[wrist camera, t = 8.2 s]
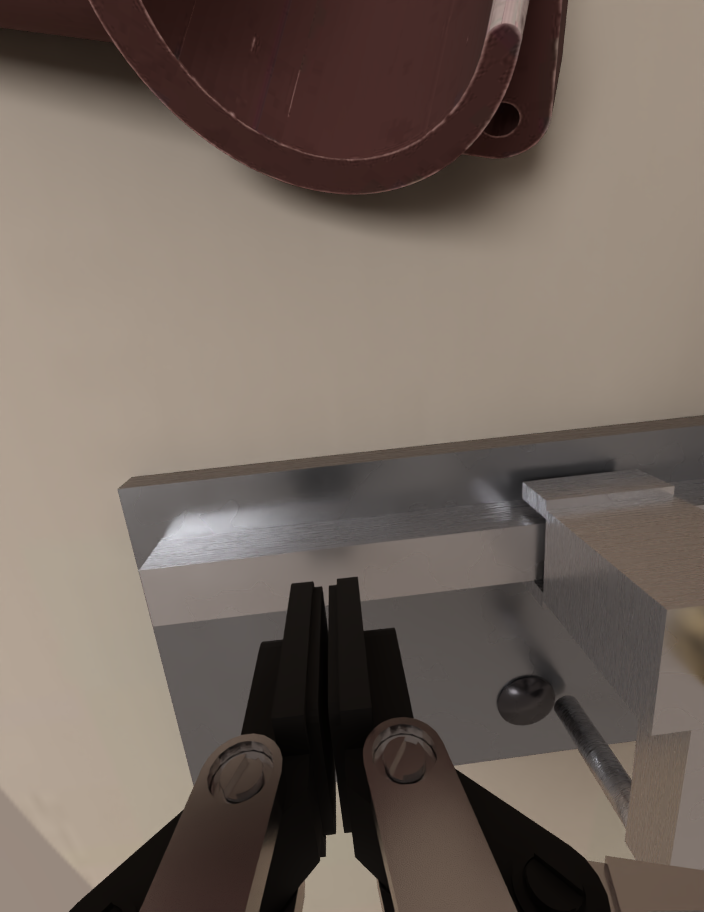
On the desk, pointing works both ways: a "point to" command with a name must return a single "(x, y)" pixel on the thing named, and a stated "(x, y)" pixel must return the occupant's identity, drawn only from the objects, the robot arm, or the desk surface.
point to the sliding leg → (634, 643)
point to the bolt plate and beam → (391, 576)
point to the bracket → (335, 78)
